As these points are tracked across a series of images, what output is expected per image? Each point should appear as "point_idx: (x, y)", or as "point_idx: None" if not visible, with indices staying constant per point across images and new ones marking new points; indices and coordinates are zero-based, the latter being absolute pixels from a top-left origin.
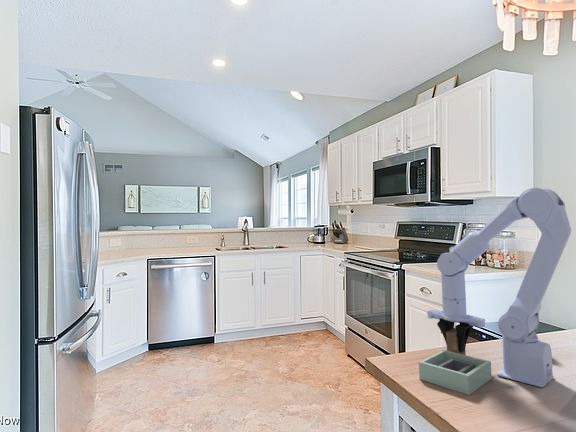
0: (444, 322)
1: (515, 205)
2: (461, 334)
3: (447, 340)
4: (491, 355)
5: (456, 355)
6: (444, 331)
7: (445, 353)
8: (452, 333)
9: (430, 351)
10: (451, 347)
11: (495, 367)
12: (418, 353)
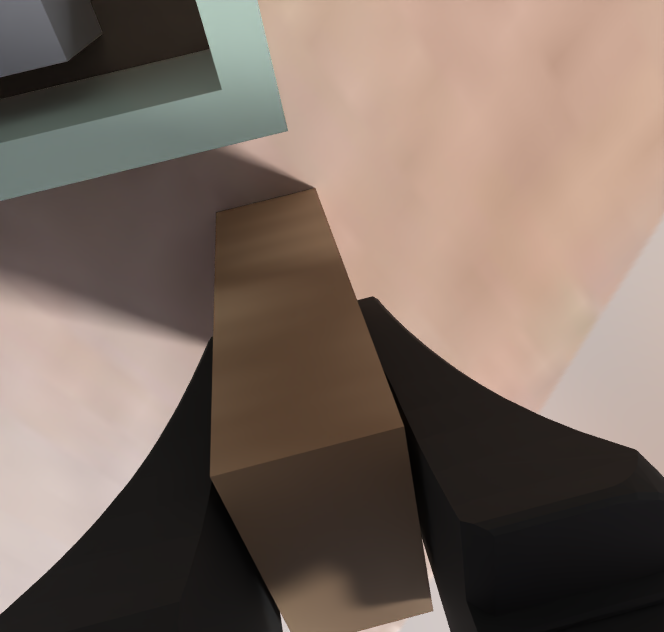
0: (557, 610)
1: None
2: (123, 521)
3: (350, 328)
4: None
5: (23, 131)
6: (455, 427)
7: (211, 86)
8: (271, 452)
9: (581, 268)
10: (280, 290)
11: (20, 421)
12: (651, 134)
